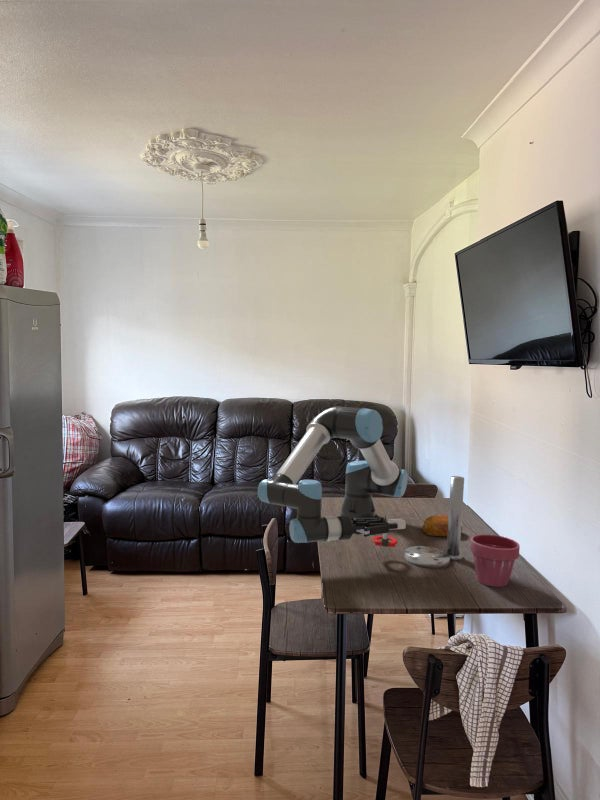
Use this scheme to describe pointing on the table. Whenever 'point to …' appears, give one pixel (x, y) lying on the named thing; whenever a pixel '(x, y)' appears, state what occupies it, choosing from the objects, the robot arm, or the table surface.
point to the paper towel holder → (440, 557)
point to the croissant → (436, 525)
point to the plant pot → (494, 558)
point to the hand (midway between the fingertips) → (403, 523)
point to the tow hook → (385, 537)
